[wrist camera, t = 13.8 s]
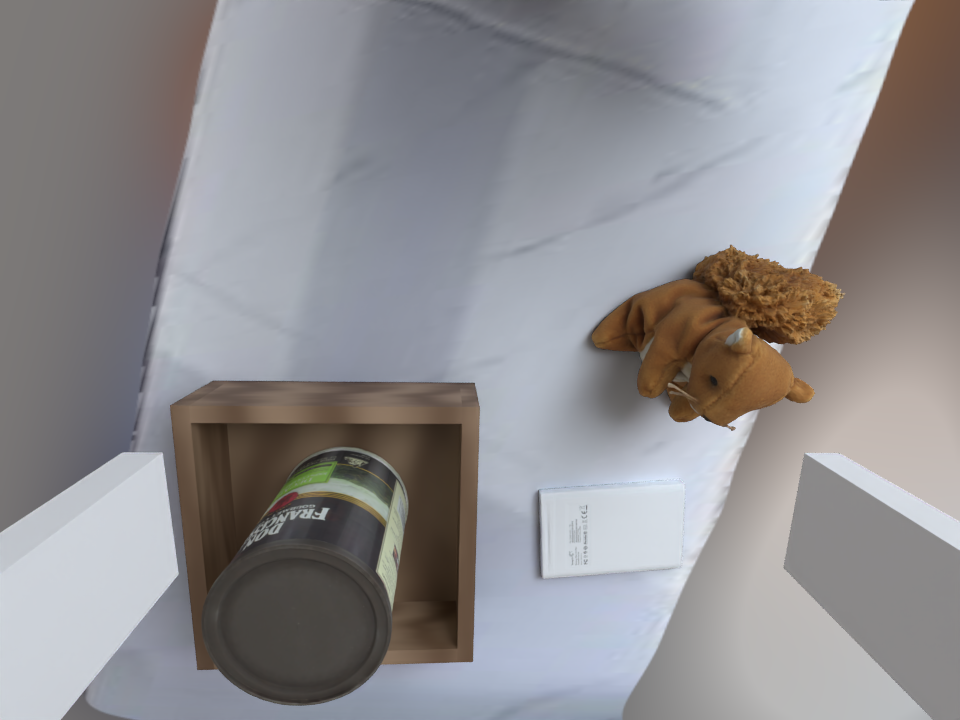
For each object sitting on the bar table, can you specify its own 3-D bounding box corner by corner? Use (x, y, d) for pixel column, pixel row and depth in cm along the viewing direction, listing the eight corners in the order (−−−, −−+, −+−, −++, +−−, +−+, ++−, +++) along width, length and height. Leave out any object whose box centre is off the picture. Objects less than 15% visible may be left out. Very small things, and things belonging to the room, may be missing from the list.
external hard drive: (673, 558, 47) (539, 570, 46) (677, 475, 45) (537, 486, 45) (682, 569, 46) (542, 581, 45) (686, 484, 44) (541, 495, 43)
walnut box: (474, 382, 42) (479, 407, 35) (468, 604, 46) (472, 661, 40) (213, 380, 40) (170, 405, 34) (232, 610, 45) (197, 670, 38)
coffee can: (255, 483, 41) (160, 600, 28) (368, 423, 41) (329, 512, 27) (323, 582, 44) (267, 736, 30) (431, 527, 43) (425, 657, 29)
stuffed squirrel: (579, 341, 42) (639, 382, 29) (708, 210, 40) (832, 192, 27) (660, 420, 44) (750, 492, 31) (786, 298, 42) (936, 321, 29)
